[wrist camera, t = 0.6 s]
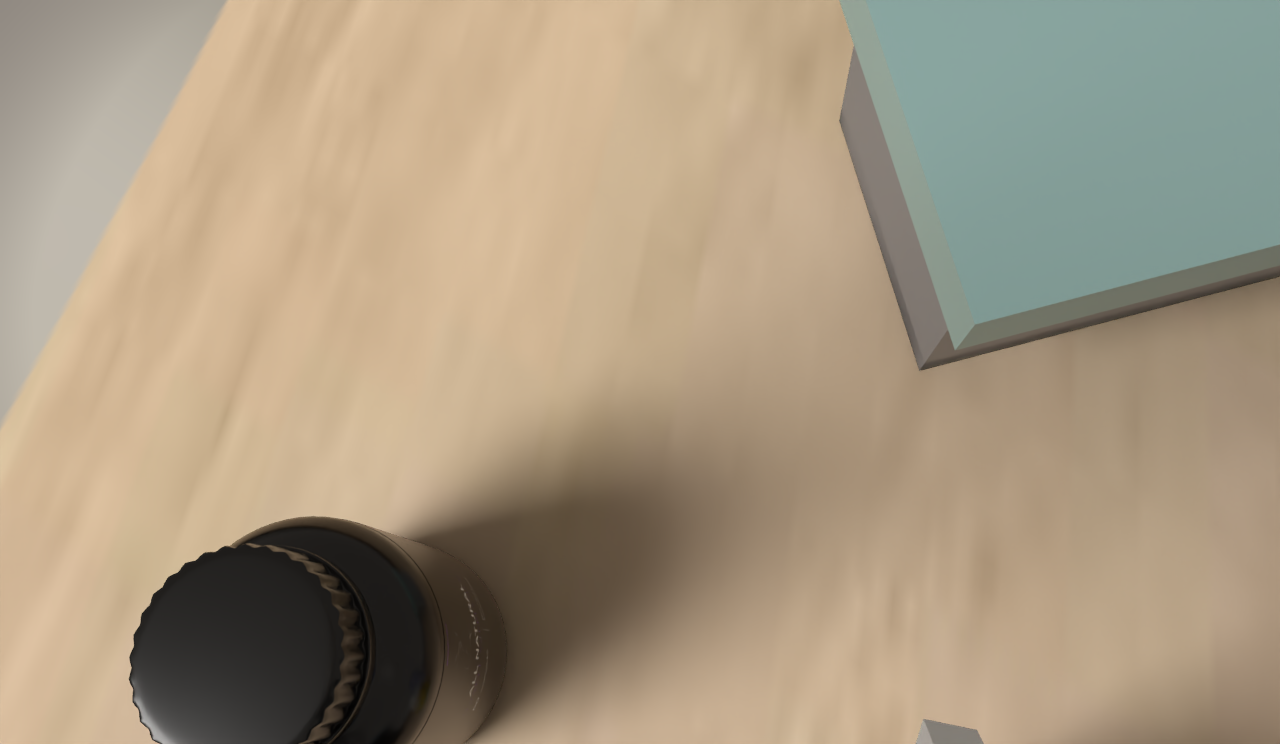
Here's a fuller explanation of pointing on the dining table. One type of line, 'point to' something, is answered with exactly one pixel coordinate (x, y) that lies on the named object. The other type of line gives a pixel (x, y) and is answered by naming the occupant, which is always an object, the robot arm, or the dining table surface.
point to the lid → (1077, 148)
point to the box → (908, 257)
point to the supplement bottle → (319, 642)
